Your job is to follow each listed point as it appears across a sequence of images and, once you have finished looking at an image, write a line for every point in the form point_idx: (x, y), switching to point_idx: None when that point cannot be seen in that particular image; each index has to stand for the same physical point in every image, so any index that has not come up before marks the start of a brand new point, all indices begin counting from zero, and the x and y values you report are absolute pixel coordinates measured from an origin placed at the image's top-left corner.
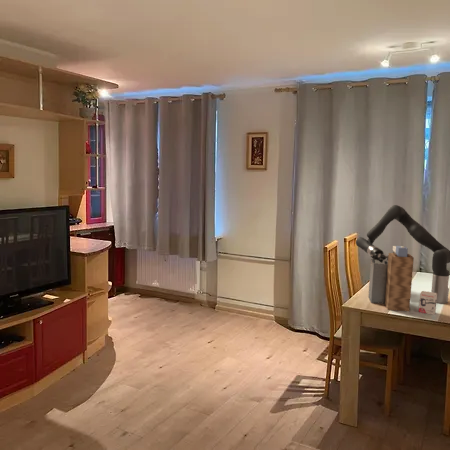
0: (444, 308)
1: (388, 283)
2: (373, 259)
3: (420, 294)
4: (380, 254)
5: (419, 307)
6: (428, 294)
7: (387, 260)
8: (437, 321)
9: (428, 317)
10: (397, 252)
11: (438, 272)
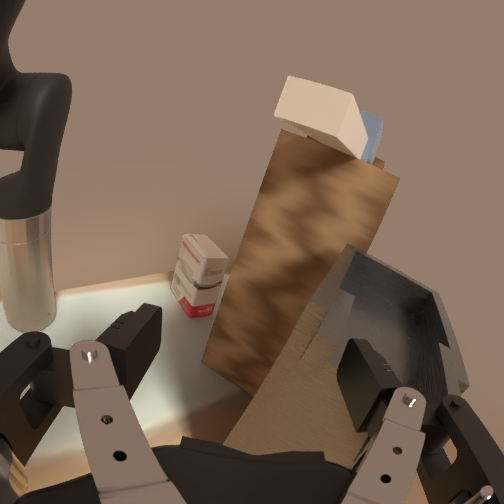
0: (101, 285)
1: None
2: (451, 377)
3: (227, 263)
4: (354, 498)
5: (215, 301)
6: (215, 245)
7: (311, 297)
8: (227, 272)
9: (224, 287)
10: (374, 152)
11: (51, 190)
